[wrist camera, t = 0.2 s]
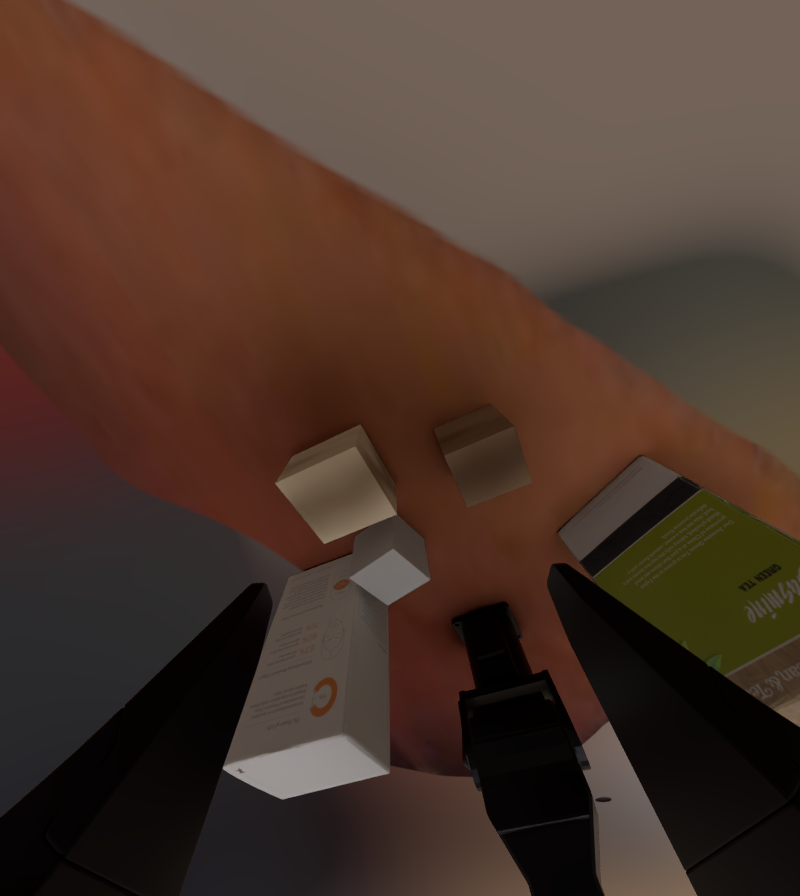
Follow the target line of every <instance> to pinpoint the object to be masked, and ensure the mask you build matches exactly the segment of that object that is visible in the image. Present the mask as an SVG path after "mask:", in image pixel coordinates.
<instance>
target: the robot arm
mask: <svg viewBox="0 0 800 896" xmlns="http://www.w3.org/2000/svg"><path fill="white" fill-rule="evenodd" d="M547 586H548V590H549V592H550V595H551V597H552V600H553V602H554V605H555V607H556V610H557V613H558V615H559V618H560V620H561V623H562V625H563V628H564V630H565V633H566V635H567V637H568V640H569V642H570V644H571V646H572V648H573V650H574V652H575V654H576V656H577V658H578V660H579V662H580V664H581V666H582V668H583V670H584V672H585V674H586V676H587V678H588V680H589V682H590V684H591V686H592V688H593V690H594V692H595V694H596V696H597V698H598V700H599V702H600V704H601V706H602V708H603V710H604V712H605V713H606V715H607V717H608V719H609V721H610V723H611V725H612V727H613V729H614V731H615V733H616V735H617V737H618V739H619V741H620V743H621V745H622V747H623V749H624V751H625V753H626V755H627V757H628V759H629V761H630V763H631V765H632V767H633V769H634V771H635V773H636V775H637V777H638V779H639V781H640V783H641V785H642V787H643V789H644V791H645V792H646V794H647V796H648V798H649V800H650V802H651V804H652V806H653V808H654V810H655V812H656V814H657V816H658V818H659V820H660V822H661V824H662V826H663V828H664V830H665V832H666V834H667V836H668V838H669V840H670V842H671V844H672V846H673V848H674V850H675V852H676V854H677V856H678V858H679V860H680V862H681V864H682V866H683V868H684V869H685V870H686V874H687V876H688V878H689V880H690V882H691V884H692V886H693V888H694V890H695V892H696V894H697V896H800V727H799V726H797V725H796V724H794V723H793V722H791V721H790V720H788V719H787V718H785V717H784V716H782V715H781V714H779V713H778V712H776V711H775V710H773V709H772V708H770V707H769V706H767V705H766V704H764V703H763V702H761V701H760V700H758V699H757V698H755V697H754V696H753V695H751V694H750V693H748V692H747V691H745V690H744V689H742V688H741V687H740V686H738V685H737V684H735V683H734V682H732V681H731V680H730V679H728V678H727V677H725V676H724V675H723V674H721V673H720V672H718V671H717V670H716V669H714V668H713V667H711V666H708V665H707V663H706V662H704V661H703V660H701V659H700V658H699V657H697V656H696V655H694V654H693V653H692V652H690V651H689V650H687V649H686V648H685V647H683V646H682V645H680V644H679V643H678V642H676V641H675V640H673V639H672V638H670V637H669V636H668V635H666V634H665V633H663V632H662V631H661V630H659V629H658V628H656V627H655V626H654V625H652V624H651V623H649V622H648V621H647V620H645V619H644V618H642V617H641V616H640V615H638V614H637V613H635V612H634V611H633V610H631V609H630V608H628V607H627V606H626V605H624V604H623V603H621V602H620V601H619V600H617V599H616V598H614V597H613V596H612V595H610V594H609V593H607V592H606V591H605V590H603V589H602V588H600V587H599V586H598V585H596V584H595V583H593V582H592V581H591V580H589V579H588V578H586V577H585V576H584V575H582V574H581V573H579V572H578V571H577V570H575V569H574V568H572V567H571V566H570V565H568V564H566V563H556V564H553V565H552V566H551V568H550V572H549V576H548V580H547ZM272 605H273V604H272V598H271V595H270V592H269V589H268V587H267V584H266V583H253V584H251V585H250V586H248V587H247V588H246V589H245V590H244V591H243V592H242V593H241V594H240V595H239V596H238V597H237V598H236V599H235V600H234V601H233V602H232V603H231V604H230V605H229V606H227V607H226V608H225V609H224V610H223V611H222V612H221V613H220V614H219V615H218V616H217V617H216V618H215V619H214V620H213V621H212V622H211V623H210V624H209V625H208V626H207V627H206V628H205V629H203V630H202V631H201V632H200V633H199V634H198V635H197V636H196V637H195V638H194V639H193V640H192V641H191V642H190V643H189V644H188V645H187V646H186V647H185V648H184V649H183V650H182V651H181V652H179V653H178V654H177V655H176V656H175V657H174V658H173V659H172V660H171V661H170V662H169V663H168V664H167V665H166V666H165V667H164V668H163V669H162V670H161V671H160V672H159V673H157V674H156V675H155V676H154V677H153V678H152V679H151V680H150V681H149V682H148V683H147V684H146V685H145V686H144V687H143V688H142V689H141V690H140V691H139V692H138V693H137V694H136V695H134V696H133V697H132V698H131V699H130V700H129V701H128V702H127V703H126V705H125V707H124V708H121V709H120V710H119V711H118V712H117V713H116V714H115V715H113V716H112V718H110V719H109V720H108V721H107V722H106V723H105V724H104V725H103V726H102V727H101V728H100V729H99V730H98V731H97V732H96V733H95V734H93V735H92V736H91V737H90V738H89V739H88V740H87V741H86V742H85V743H84V744H83V745H82V746H81V747H79V749H77V750H76V751H75V752H74V753H73V754H72V755H71V756H70V757H68V758H67V759H66V760H65V761H64V762H63V763H62V764H61V765H60V766H58V768H56V769H55V770H54V771H53V772H52V773H51V774H49V775H48V776H47V777H46V778H45V779H44V780H43V781H42V782H40V783H39V784H38V785H37V786H36V787H35V788H34V789H33V790H31V791H30V792H29V793H28V794H27V795H26V796H24V797H23V798H22V799H21V800H20V801H19V802H18V803H16V804H15V805H14V806H13V807H12V808H11V809H10V810H8V811H7V812H6V813H5V814H4V815H3V816H2V817H1V818H0V896H179V895H180V892H181V889H182V886H183V883H184V880H185V877H186V875H187V871H188V869H189V866H190V863H191V860H192V857H193V854H194V851H195V848H196V845H197V842H198V839H199V837H200V834H201V831H202V828H203V825H204V822H205V819H206V816H207V813H208V810H209V807H210V804H211V801H212V799H213V795H214V792H215V790H216V787H217V784H218V781H219V778H220V775H221V772H222V769H223V766H224V763H225V760H226V758H227V755H228V752H229V749H230V746H231V743H232V740H233V737H234V734H235V731H236V728H237V725H238V722H239V719H240V717H241V714H242V711H243V708H244V705H245V702H246V699H247V696H248V693H249V690H250V687H251V684H252V681H253V678H254V676H255V673H256V670H257V666H258V663H259V660H260V656H261V652H262V648H263V644H264V639H265V635H266V630H267V627H268V623H269V619H270V615H271V610H272ZM452 625H453V628H454V629H455V631H456V632H457V634H458V635H459V637H460V639H461V640H462V642H463V643H464V645H465V646H466V649H467V654H468V658H469V662H470V666H471V671H472V675H473V679H474V684H475V688H476V689H473V690H469V691H460V692H459V696H460V701H459V702H458V706H459V711H460V717H461V726H462V756H463V762H464V765H465V766H466V767H467V768H468V769H469V770H470V772H471V775H472V777H473V780H474V783H475V785H476V787H477V789H478V791H479V792H482V794H483V798H484V803H485V807H486V811H487V814H488V817H489V819H490V821H491V822H492V824H493V826H494V827H495V829H496V831H497V832H498V834H499V836H500V838H501V839H502V841H503V843H504V844H505V846H506V848H507V849H508V851H509V853H510V854H511V856H512V858H513V859H514V861H515V863H516V864H517V866H518V868H519V869H520V871H521V873H522V874H523V876H524V878H525V879H526V881H527V883H528V885H529V889H530V892H531V896H605V894H604V891H603V889H602V886H601V876H600V851H599V827H598V814H597V810H596V807H595V804H594V800H593V797H592V794H591V791H590V788H589V786H588V783H587V781H586V778H585V776H584V774H583V771H582V770H590V769H591V767H590V764H589V762H588V759H587V757H586V754H585V752H584V749H583V747H582V744H581V742H580V740H579V737H578V735H577V733H576V731H575V728H574V726H573V724H572V722H571V719H570V717H569V715H568V713H567V711H566V709H565V707H564V704H563V702H562V700H561V698H560V696H559V694H558V692H557V690H556V687H555V685H554V683H553V681H552V679H551V677H550V675H549V672H548V670H547V669H546V670H542V672H540V673H536V674H533V673H532V671H531V668H530V666H529V663H528V661H527V658H526V656H525V653H524V651H523V648H522V646H521V643H520V641H519V639H520V638H522V634H521V631H520V629H519V627H518V625H517V623H516V621H515V618H514V616H513V614H512V612H511V610H510V608H509V606H508V604H507V603H502V604H499V605H496V606H493V607H490V608H487V609H484V610H481V611H478V612H475V613H472V614H469V615H466V616H463V617H460V618H457V619H454V620H453V621H452Z"/></svg>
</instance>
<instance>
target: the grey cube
mask: <svg viewBox="0 0 800 896" xmlns="http://www.w3.org/2000/svg"><path fill="white" fill-rule="evenodd" d="M349 578H350V579H351V580H353V581H354V582H355V583H357V584H358V585H360V586H361V587H362V588H364V589H365V590H367V591H368V592H369V593H371V594H372V595H374V596H375V597H376V598H378V599H379V600H381V601H382V602H383V603H385V604H386V605H389V604H391V603H393V602H394V601H396V600H398V599H399V598H401V597H403V596H404V595H406V594H408V593H409V592H411V591H413V590H414V589H416V588H418V587H419V586H421V585H423V584H424V583H426V582H428V581H429V580H430V574H429V567H428V561H427V555H426V549H425V543H424V539H423V538H422V537H421V536H420V535H419V534H418V533H417V532H416V531H414V530H413V529H412V528H411V527H410V526H409V525H408V524H407V523H406V522H405V521H403V520H402V519H401V518H400V517H399V516H398V515H394V516H392V517H389V518H387V519H385V520H382V521H380V522H377V523H375V524H372V525H371V526H369V527H368V528H367V529H365V530H364V531H362V532H361V533H360V534H358V535H357V536H355V540H354V547H353V554H352V561H351V568H350V575H349Z"/></svg>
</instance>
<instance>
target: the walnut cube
mask: <svg viewBox="0 0 800 896" xmlns="http://www.w3.org/2000/svg"><path fill="white" fill-rule="evenodd" d="M434 432H435V434H436V437H437V439H438V442H439V444H440V447H441V450H442V452H443V455H444V457H445V459H446V461H447V464H448V466H449V468H450V470H451V472H452V475H453V477H454V479H455V481H456V483H457V486H458V488H459V490H460V492H461V494H462V496H463V499H464V501H465V503H466V505H467V507H468V508H469V507H472V506H474V505H477V504H479V503H482V502H485V501H487V500H490V499H492V498H495V497H497V496H500V495H503V494H505V493H508V492H510V491H513V490H515V489H518V488H520V487H523V486H526V485H528V484H531V483H532V482H531V478H530V475H529V472H528V469H527V465H526V462H525V459H524V456H523V453H522V449H521V446H520V443H519V440H518V436H517V433H516V430H515V427H514V425H513V424H512V423H510V422H509V421H508V420H507V419H506V418H505V417H504V416H503V415H502V414H501V413H500V412H498V411H497V410H496V409H495V408H494V407H493V406H492V405H491V404H488V405H486V406H484V407H481V408H479V409H477V410H475V411H472V412H470V413H468V414H466V415H463V416H461V417H459V418H457V419H454V420H452V421H450V422H448V423H445V424H443V425H441V426H439V427H436V428H434Z"/></svg>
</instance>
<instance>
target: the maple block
mask: <svg viewBox="0 0 800 896" xmlns="http://www.w3.org/2000/svg"><path fill="white" fill-rule="evenodd" d="M275 484H276V485H277V486H278V488H279V489H280V490H281V491H282V493H283V494H284V495H285V496H286V497H287V499H288V500H289V501H290V502H291V504H292V505H293V506H294V507H295V509H296V510H297V511H298V512H299V513H300V515H301V516H302V517H303V518H304V520H305V521H306V522H307V523H308V525H309V526H310V527H311V528H312V530H313V531H314V532H315V533H316V534H317V536H318V537H319V538H320V539H321V541H322V542H323V543H324V544H326V543H328V542H330V541H333V540H335V539H338V538H340V537H343V536H345V535H348V534H350V533H353V532H355V531H357V530H360V529H362V528H365V527H367V526H370V525H372V524H375V523H377V522H380V521H382V520H385V519H387V518H389V517H392V516H394V515H397V504H396V485H395V483H394V481H393V480H392V478H391V476H390V474H389V473H388V471H387V469H386V467H385V466H384V464H383V462H382V461H381V459H380V457H379V455H378V454H377V452H376V450H375V449H374V447H373V445H372V443H371V442H370V440H369V438H368V436H367V435H366V433H365V431H364V430H363V428H362V426H361V424H360V425H358V426H356V427H353V428H351V429H349V430H347V431H345V432H343V433H341V434H339V435H336V436H334V437H332V438H330V439H328V440H326V441H324V442H322V443H319V444H317V445H315V446H313V447H311V448H309V449H307V450H305V451H302V452H300V453H298V454H296V455H294V456H292V458H291V459H290V461H289V462H288V464H287V465H286V467H285V468H284V470H283V472H282V473H281V475H280V476H279V478H278V479H277V481H276V482H275Z"/></svg>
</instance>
